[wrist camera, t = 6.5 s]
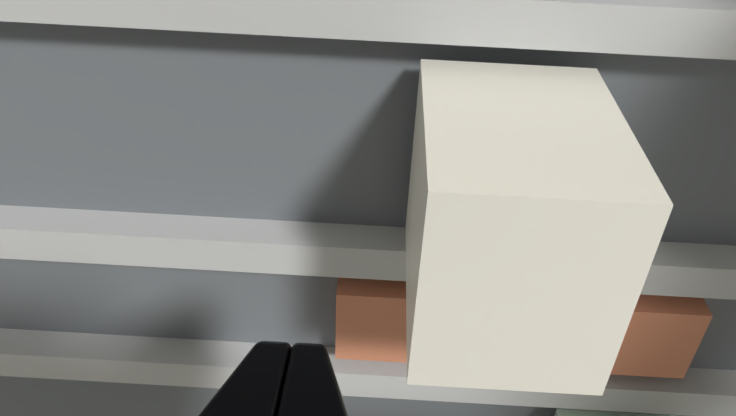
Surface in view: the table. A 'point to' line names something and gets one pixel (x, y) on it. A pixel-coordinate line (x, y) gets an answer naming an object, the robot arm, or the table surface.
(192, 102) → the grey slider track board
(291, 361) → the robot arm
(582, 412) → the sage slider
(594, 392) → the cream slider
